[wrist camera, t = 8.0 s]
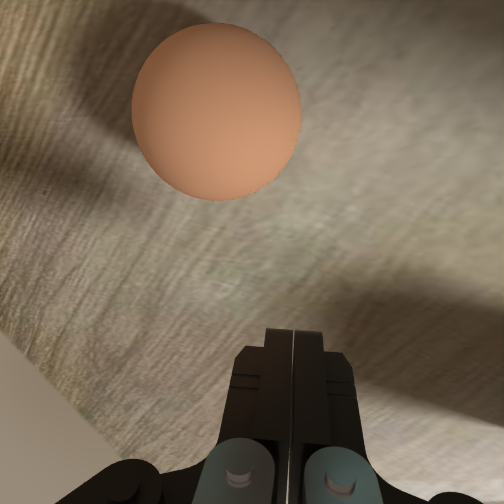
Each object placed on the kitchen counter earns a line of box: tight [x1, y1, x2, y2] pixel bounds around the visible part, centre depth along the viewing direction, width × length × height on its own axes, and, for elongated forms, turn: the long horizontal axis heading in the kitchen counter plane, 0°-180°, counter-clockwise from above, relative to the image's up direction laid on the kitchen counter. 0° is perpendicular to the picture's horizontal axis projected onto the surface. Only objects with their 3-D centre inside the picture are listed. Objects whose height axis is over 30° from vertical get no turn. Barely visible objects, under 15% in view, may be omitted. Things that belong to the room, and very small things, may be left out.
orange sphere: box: [132, 23, 301, 201], centre depth 14 cm, size 5×5×5 cm
